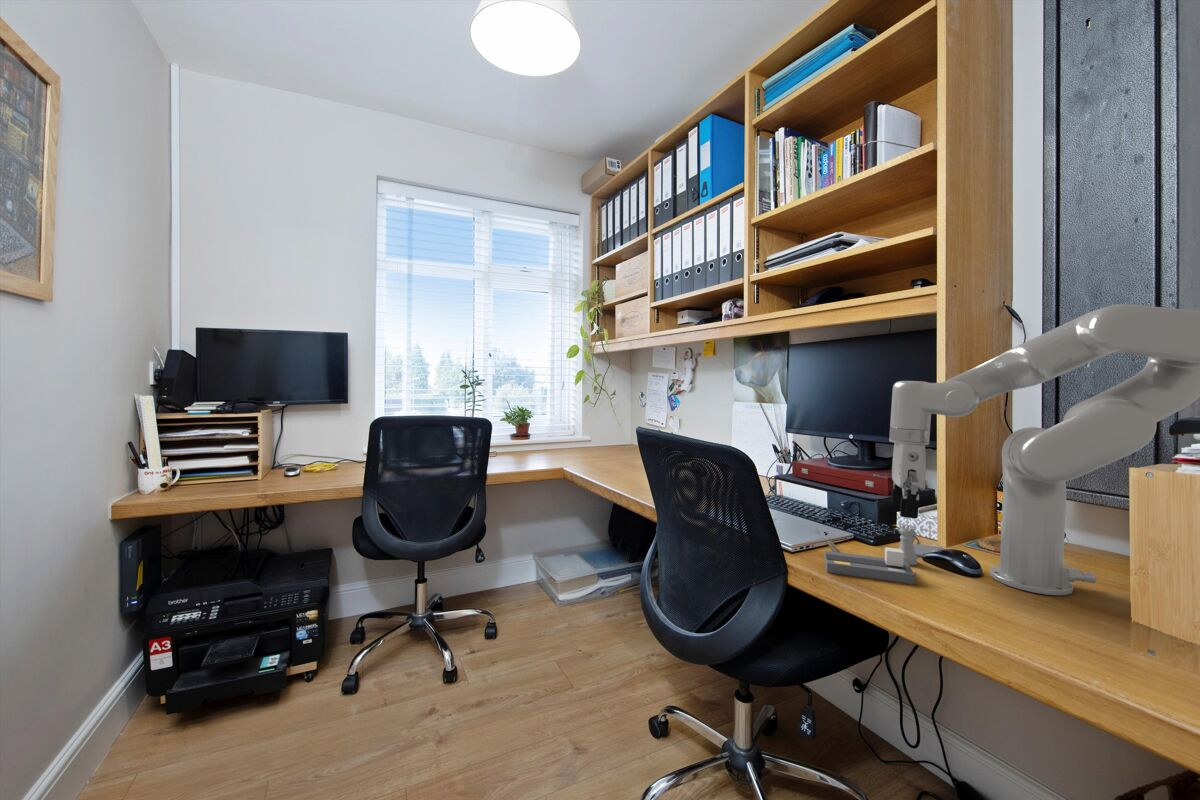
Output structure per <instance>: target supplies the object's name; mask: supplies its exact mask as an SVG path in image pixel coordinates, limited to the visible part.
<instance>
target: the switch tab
mask: <svg viewBox="0 0 1200 800" xmlns="http://www.w3.org/2000/svg"><path fill="white" fill-rule="evenodd" d="M884 558H885V563H886V565H891V566H899V567H903V561H904V553H903V551H902V549H899V548H897V547H896V548H895V547H887V546H885V547H884Z"/></svg>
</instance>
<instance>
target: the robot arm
mask: <svg viewBox="0 0 1200 800" xmlns="http://www.w3.org/2000/svg"><path fill="white" fill-rule="evenodd" d="M1113 353H1124V354H1130V355H1135V356H1136V355H1137V356H1142V357H1148V358H1147V362H1146V364H1145V365H1144V366H1143V368H1142V369H1141V370H1140V371H1139V372H1137V373H1136V374H1134V375H1133V376H1131V377H1129V378H1127V379H1125V380H1124V381H1122V382H1120V383H1118V384H1116V385H1114V386H1112V387H1110V388H1107V389H1106V390H1104V391H1102V392H1099V393H1098V394H1096V395H1093V396H1091V397H1089V398H1086V399H1084V400H1082V401H1080V402H1078V403H1076V404H1074V405H1073V406H1071V407H1070V408H1069V409H1068V410H1067V412H1065V414H1064V416H1063V421H1061V422H1059V423H1057V424H1054V425H1052V426H1051V427H1048V428H1047V429H1046V428H1043V427H1032V426H1031V427H1030V426H1029V427H1022V428H1020V429H1017V430H1014V432H1012V433H1011V434H1010V435H1008V436H1007V437H1006V439H1005V440H1004V442H1003V446H1002V448H1001V466H1002V507H1001V528H1000V529H1001V531H1000V533H1001V534H1000V550H999V551H1000V554H999V564H997V565H993V566H991V567H990V568H989V574H990V577H992V578H993V579H994V580H996V581H997V582H1000V583H1001V584H1004V585H1006V586H1010V587H1012V588H1015V589H1018V590H1022V591H1026V592H1029V593H1035V594H1041V595H1047V596H1067V595H1068V596H1069V595H1070V594H1072V593H1073V592H1074V585H1073V583H1074V582H1075V581H1077V582H1082V583H1089V584H1096V582H1097V577H1096V574H1095V573H1094V572H1085V571H1080V569H1079V568H1073V567H1068V566H1066V565H1065V564H1064V557H1065V555H1064V554H1065V553H1064V551H1065V550H1064V549H1065V535H1066V534H1065V533H1066V530H1065V529H1066V514H1067V484H1066V482H1068V481H1072V480H1074V479H1078V478H1080V477H1082V476H1084V475H1087V474H1089V473H1092V472H1094V471H1096V470H1098V469H1100V468H1103V467H1106V466H1107V465H1109V464H1112V463H1115V462H1117V461H1119V460H1121V459H1123V458H1125V457H1128V456H1130V455H1132V454H1134V453H1136V452H1138V451H1140V450H1141V449H1142V448H1144V447H1145V446H1147V445H1148V444H1149V443H1150V442H1151V441H1152V440H1153V438H1154V436H1155V434H1156V432H1157V424H1158V422H1160V421H1162V420H1165V419H1166V418H1168V417H1170V416H1172V415H1174V414H1176V413H1178V412H1180V411H1181V410H1183V409H1185V408H1187V407H1188V406H1190V405H1191V404H1193V403H1194V402H1196V401H1197V400H1198V399H1199V398H1200V310H1194V309H1184V308H1182V309H1181V308H1173V307H1161V306H1152V305H1141V304H1132V303H1131V304H1130V303H1129V304H1127V303H1122V304H1121V303H1119V304H1113V305H1109V306H1105V307H1101V308H1098V309H1096V310H1092V311H1090V312H1087V313H1084V314H1083V315H1080V316H1078V317H1076V318H1074V319H1071V320H1070V321H1068V322H1065V323H1064V324H1061V325H1059V326H1057V327H1055V328H1052V329H1051V330H1049V331H1046V332H1045V333H1043V334H1040V335H1038V336H1036V337H1034V338H1031V339H1029V340H1027V341H1025V342H1024V343H1021V344H1018V345H1016V346H1015V347H1013V348H1010V349H1008V350H1006V351H1004V352H1002V353H1001V354H999V355H997V356H995V357H994V358H991V359H989V360H987V361H985V362H984V363H981V364H979V365H977V366H974V367H972V368H971V369H968V370H965V371H964V372H962V373H959V374H957V375H955V376H953V377H951V378H949V379H947V380H944V381H942V382H928V381H919V380H916V381H915V380H899V381H896V382H894V384H893V386H892V393H891V395H892V396H891V409H890V423H889V435H888V436H889V439H888V441H889V442H891V443H894V445H893V453H892V454H893V455H892V465H891V480H892V481H893V484H892V487H893V488H892V489H891V490H892V491H891V505H892V506H893V507H900V509H899V510H900V512H899V515H900V516H901V517H902V518H909V519H918V518H919V507H920V506H919V505H920V491H924V490H925V489H926V471H927V467H926V466H927V465H926V464H927V462H926V461H927V460H926V459H927V456H926V455H927V453H926V446H929V445H930V434H931V419H932V415H933V414H934V415H940V416H946V417H951V418H959V417H960V418H961V417H965V416H967V415H970V414H971V413H973V412H974V411H975V410H976V409H977V408H978V405H979V404H980V403H982V402H986V401H987V400H990V399H992V398H995V397H997V396H1000V395H1002V394H1005V393H1009V392H1012V391H1015V390H1018V389H1025V388H1030V387H1035V386H1037V385H1040V384H1043V383H1046V382H1048V381H1051V380H1053V379H1054V378H1055V379H1056V378H1057V377H1060V376H1062V375H1064V374H1067V373H1069V372H1072V371H1073V370H1075V369H1078V368H1080V367H1082V366H1086V365H1087V364H1089V363H1092V362H1094V361H1096V360H1099V359H1101V358H1104V357H1106V356H1108V355H1110V354H1113ZM919 490H920V491H919Z"/></svg>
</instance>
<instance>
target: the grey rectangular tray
mask: <svg viewBox="0 0 1200 800" xmlns="http://www.w3.org/2000/svg"><path fill="white" fill-rule="evenodd" d="M824 562H825V569H826V573H830V574H835V575H836V574H837V575H844V576H852V577H858V578H865V579H872V580H873V579H874V580H879V581H880V580H881V581H888V582H896V583H901V584H907V585H915V584H916V583H915V582H916V581H915V580H916V579H915V578H916V574H915V573H914V570H913V569H912V567H911V566H909V564H908V563H907V561H903V567H899V566H891V565H886V563H885V557H881V556H880V557H879V556H870V555H865V554H864V555H862V554H855V553H849V552H847V553H846V552H841V551H840V552H833V550H824Z"/></svg>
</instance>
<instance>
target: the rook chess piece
mask: <svg viewBox="0 0 1200 800" xmlns="http://www.w3.org/2000/svg"><path fill="white" fill-rule="evenodd" d="M898 532H899V533H900V536H899V538H900V542H899V543H900V544H899V548H898V549H902V551H903V553H904V561H907V563H908V564H909V566H910V567H911V566H912V567H913V566H917V565H918V563H919V561H918V559H919V557H917V555H916V554H915V551H914V546H913V544H914V541H915V537H914V536H915V535H916V534H917V533H916V531H915V528H914V527H913V526H911V527H910V526H908V525H906V526H905V525H902V526H900V529H899V530H898Z"/></svg>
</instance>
